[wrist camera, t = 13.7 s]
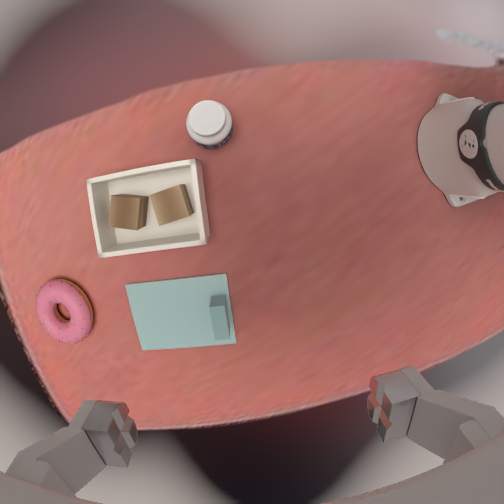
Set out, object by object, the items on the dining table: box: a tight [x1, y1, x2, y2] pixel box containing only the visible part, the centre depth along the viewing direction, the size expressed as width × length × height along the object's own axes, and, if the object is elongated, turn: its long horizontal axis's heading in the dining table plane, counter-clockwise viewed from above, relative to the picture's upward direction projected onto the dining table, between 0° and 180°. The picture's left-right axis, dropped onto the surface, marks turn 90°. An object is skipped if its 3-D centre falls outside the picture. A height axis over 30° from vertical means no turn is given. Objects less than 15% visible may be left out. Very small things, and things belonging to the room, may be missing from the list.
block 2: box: [149, 184, 194, 226], centre depth 38 cm, size 4×4×4 cm
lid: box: [125, 273, 236, 350], centre depth 42 cm, size 15×11×5 cm
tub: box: [87, 159, 210, 258], centre depth 38 cm, size 14×10×6 cm
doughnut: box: [36, 279, 93, 343], centre depth 42 cm, size 11×11×4 cm
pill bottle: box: [186, 100, 232, 149], centre depth 34 cm, size 5×5×9 cm
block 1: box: [109, 194, 149, 230], centre depth 38 cm, size 4×4×4 cm
